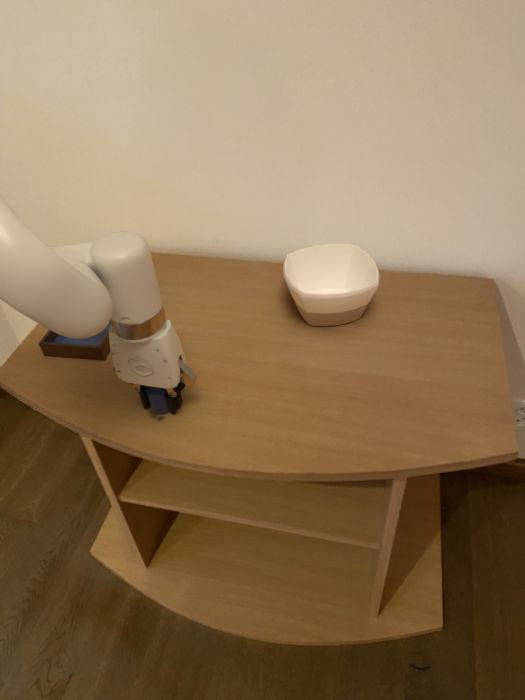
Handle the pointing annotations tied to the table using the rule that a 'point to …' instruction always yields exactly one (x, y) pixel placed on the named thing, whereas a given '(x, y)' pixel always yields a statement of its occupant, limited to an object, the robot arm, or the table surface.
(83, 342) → the tray
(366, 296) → the bowl
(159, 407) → the blue mallet
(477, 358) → the table surface
